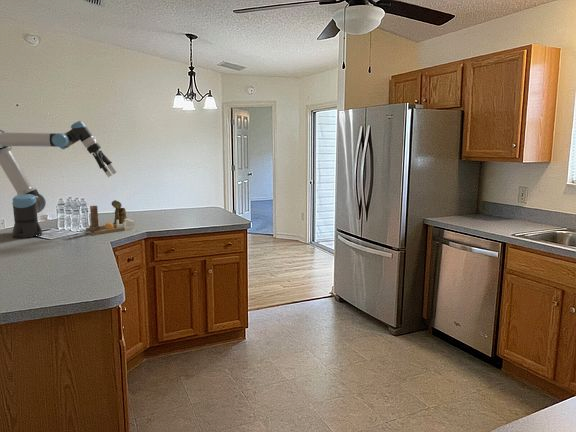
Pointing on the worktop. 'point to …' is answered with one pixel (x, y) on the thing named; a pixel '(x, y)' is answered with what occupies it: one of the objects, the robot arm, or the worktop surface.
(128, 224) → the brown wooden tray
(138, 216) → the worktop surface
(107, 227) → the ball
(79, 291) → the worktop surface
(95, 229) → the brown tall block
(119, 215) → the brown animal figurine
